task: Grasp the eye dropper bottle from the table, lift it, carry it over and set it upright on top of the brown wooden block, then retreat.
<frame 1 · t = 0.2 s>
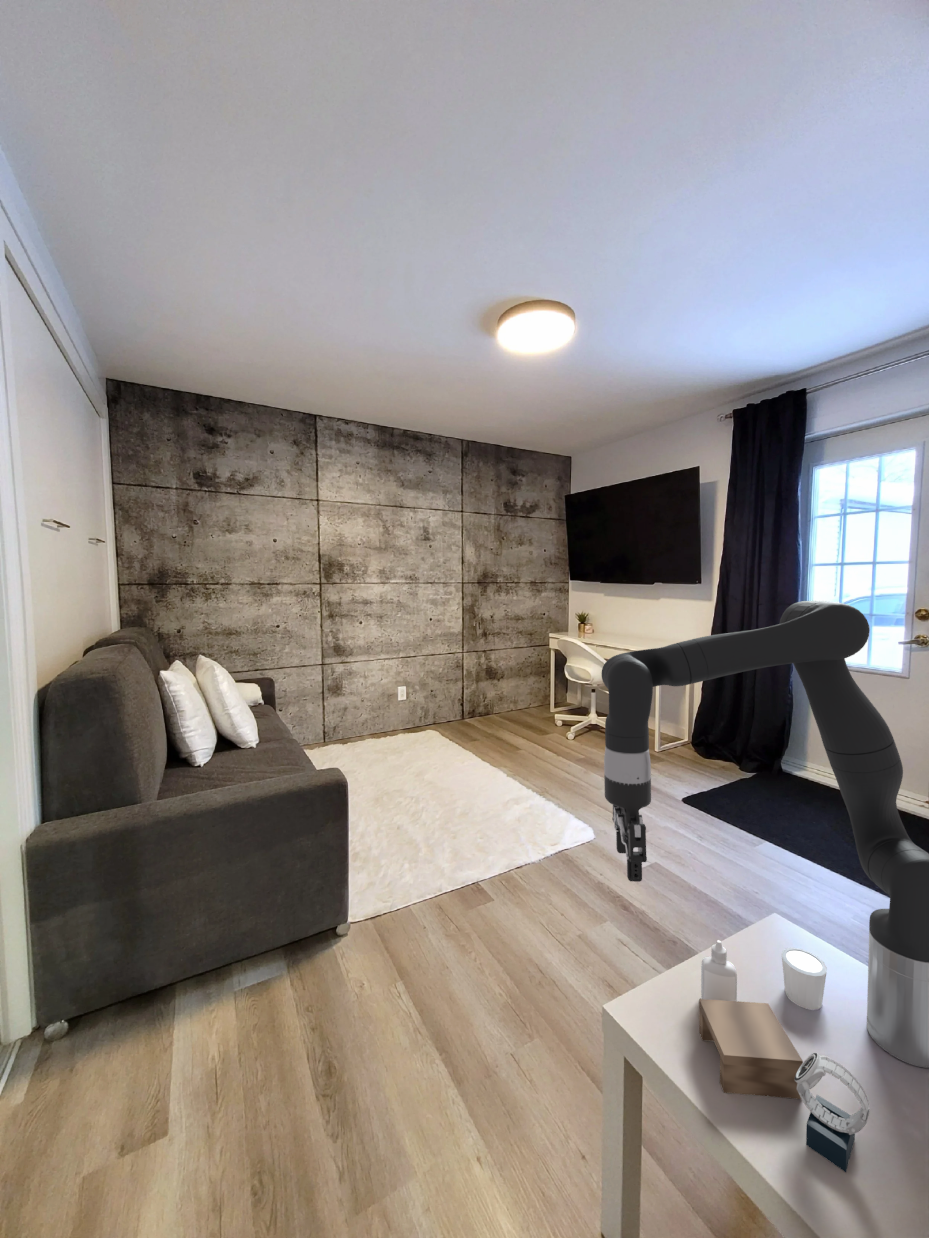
hand: (628, 865, 84), 28 cm above the table, tool pointing down, fingers open, 8 cm apart
white oval container: (803, 997, 90), on the table
brown wooden block: (746, 1063, 77), on the table
watch: (829, 1143, 66), on the table
eye dropper bottle: (718, 1005, 88), on the table
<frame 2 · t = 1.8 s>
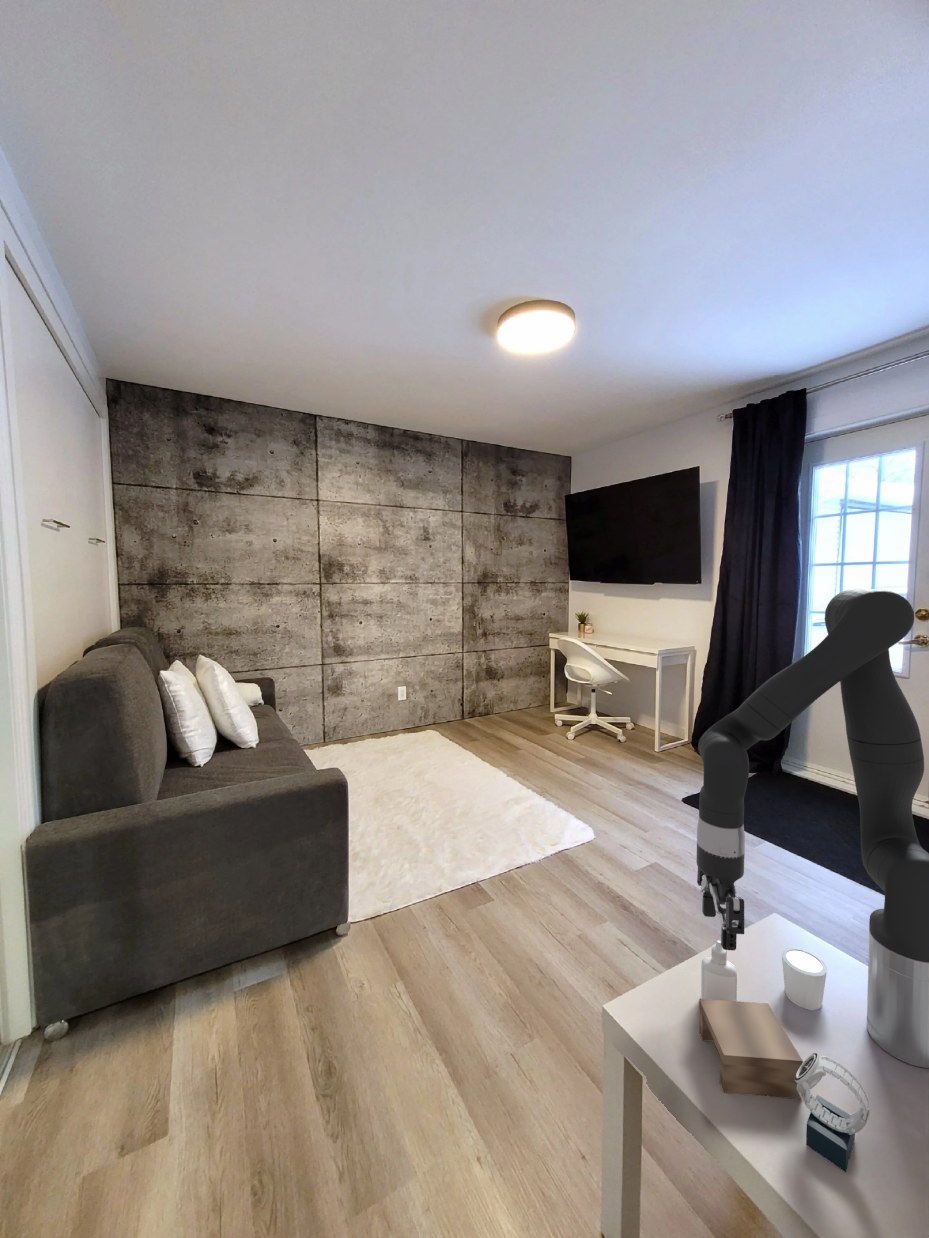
hand: (718, 931, 88), 14 cm above the table, tool pointing down, fingers open, 8 cm apart
nothing on the table moved.
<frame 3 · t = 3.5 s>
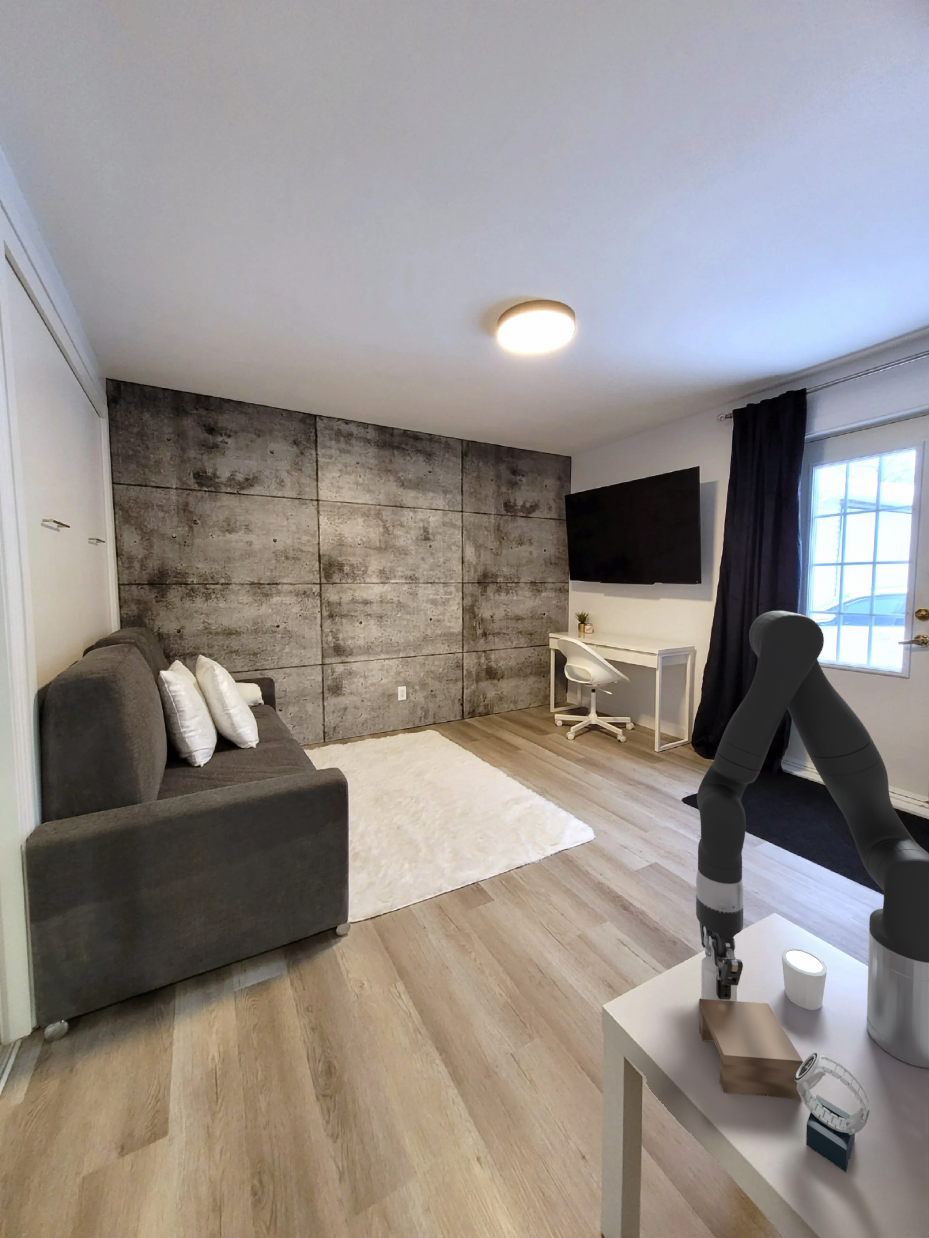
hand: (718, 987, 88), 3 cm above the table, tool pointing down, fingers closed on eye dropper bottle, 3 cm apart
eye dropper bottle: (718, 1005, 88), on the table, touching gripper
everything else where it was.
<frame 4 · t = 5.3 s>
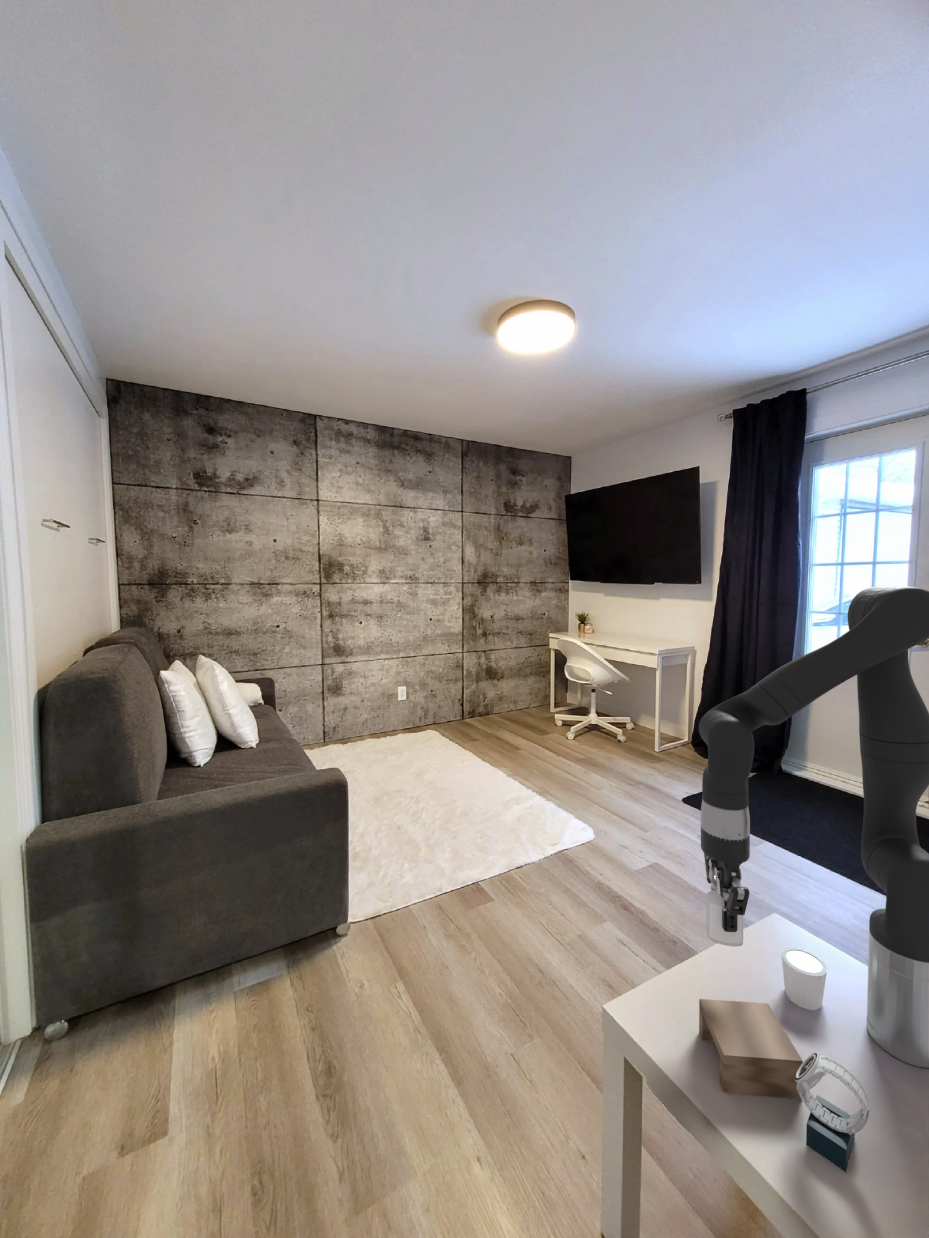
hand: (724, 921, 85), 17 cm above the table, tool pointing down, fingers closed on eye dropper bottle, 3 cm apart
eye dropper bottle: (724, 940, 86), point 14 cm above the table, touching gripper
everything else where it was.
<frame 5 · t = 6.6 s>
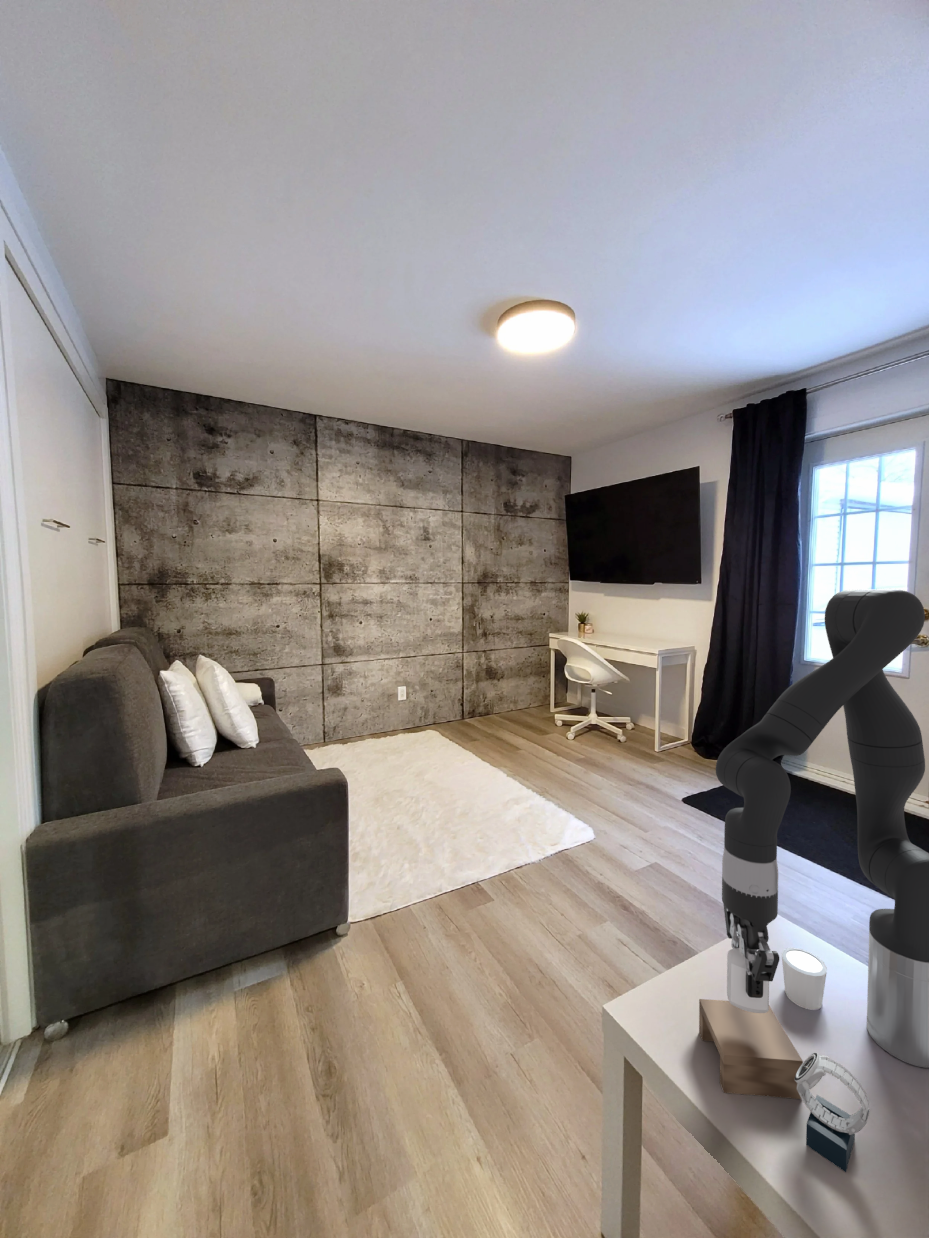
hand: (747, 983, 77), 13 cm above the table, tool pointing down, fingers closed on eye dropper bottle, 3 cm apart
eye dropper bottle: (747, 1004, 77), point 10 cm above the table, touching gripper
everything else where it was.
when the fingers open (11 cm above the table, at t = 7.3 s): eye dropper bottle drops 1 cm, resting on brown wooden block.
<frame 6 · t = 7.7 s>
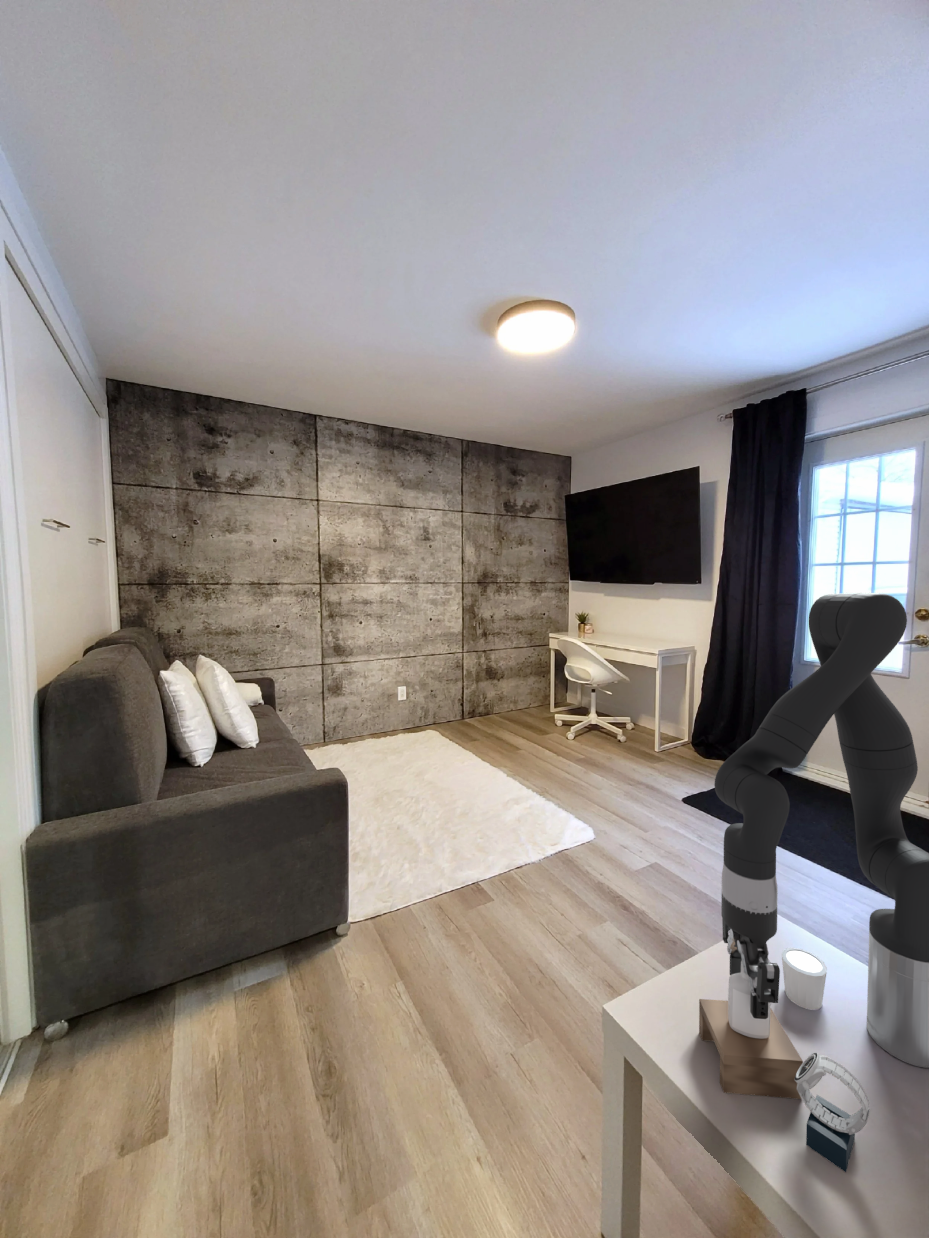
hand: (747, 996, 77), 11 cm above the table, tool pointing down, fingers open, 6 cm apart
eye dropper bottle: (748, 1029, 77), point 6 cm above the table, touching brown wooden block
everything else where it was.
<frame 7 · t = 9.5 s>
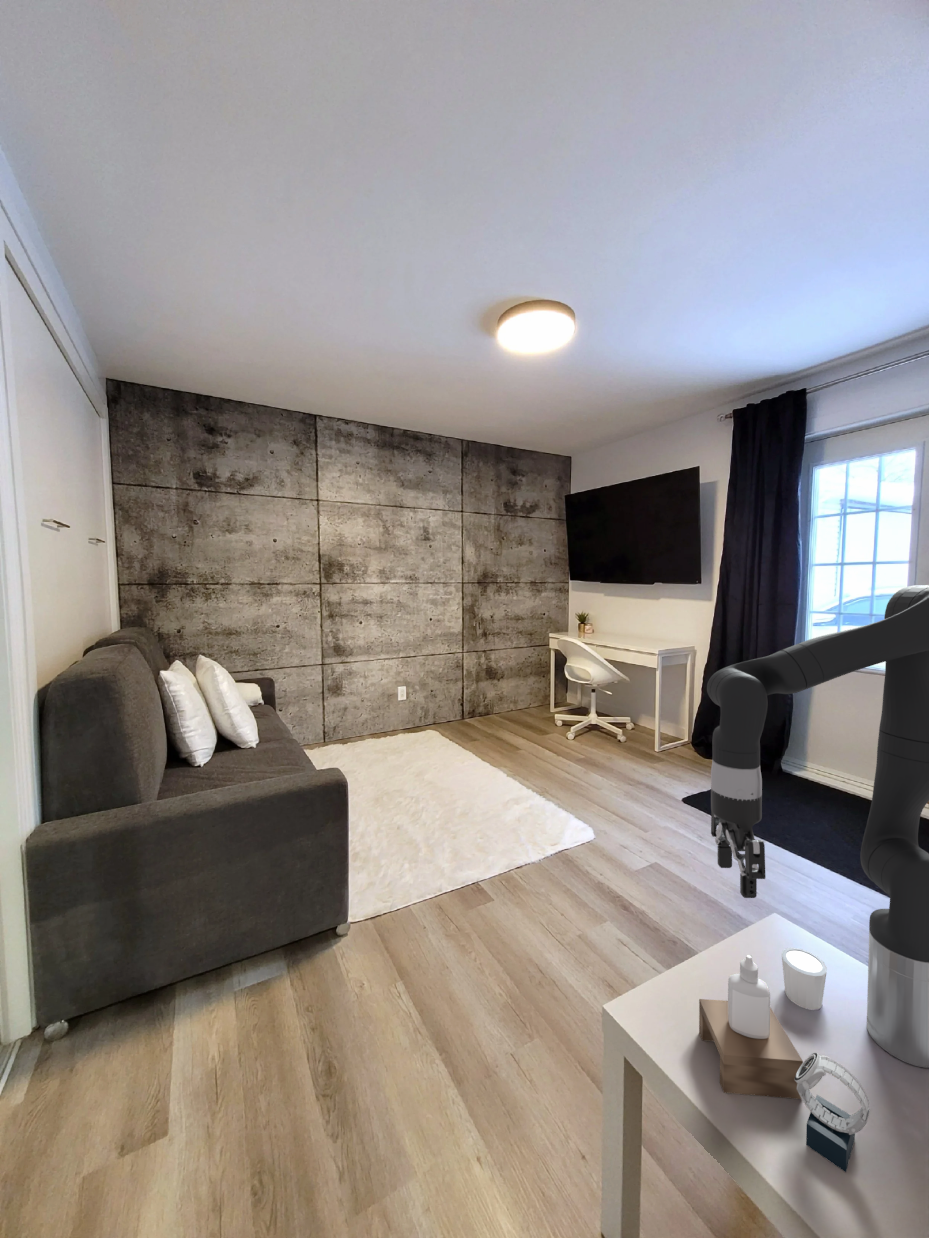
hand: (735, 880, 83), 26 cm above the table, tool pointing down, fingers open, 8 cm apart
nothing on the table moved.
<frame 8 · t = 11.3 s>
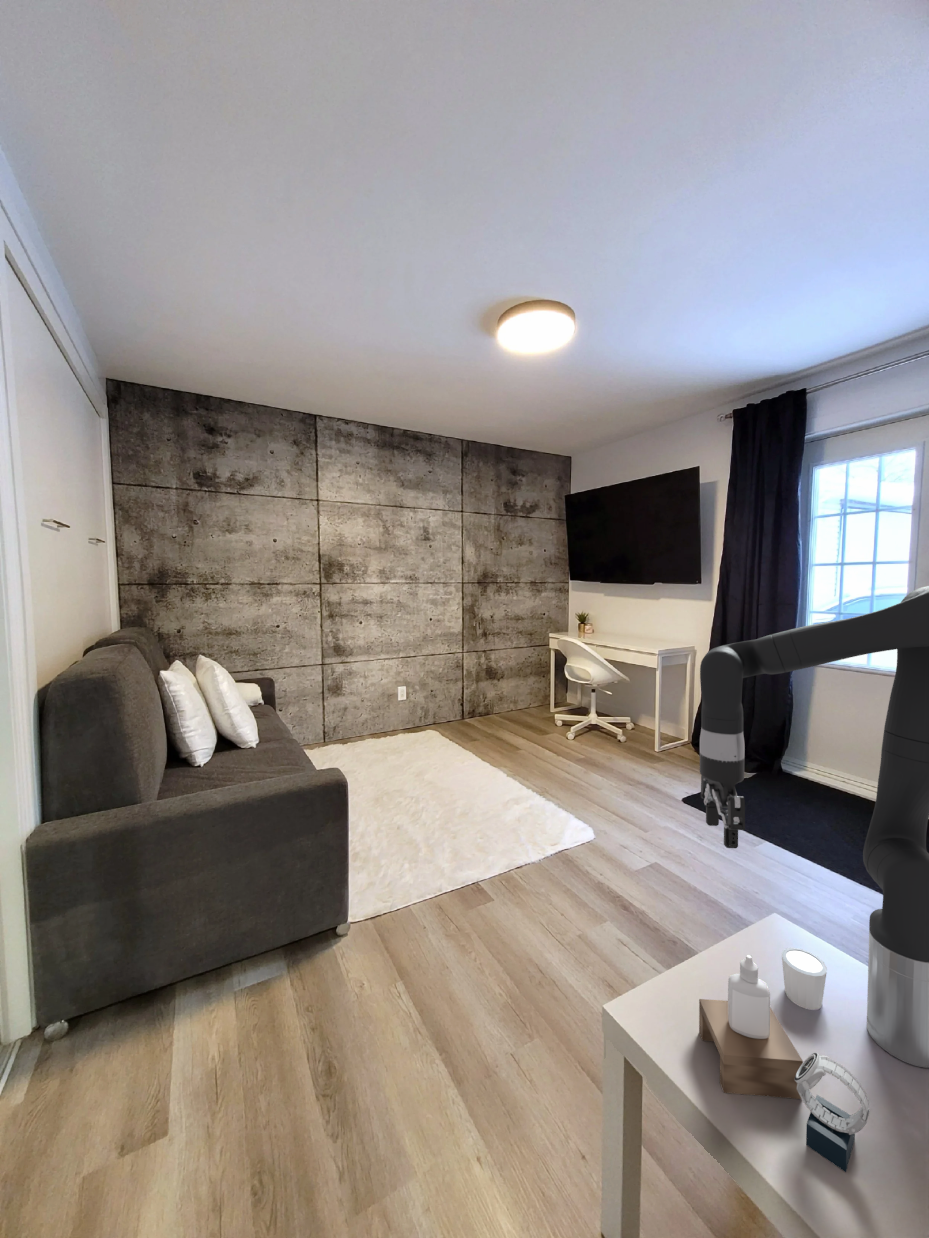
hand: (721, 835, 93), 28 cm above the table, tool pointing down, fingers open, 8 cm apart
nothing on the table moved.
at the end: eye dropper bottle inside the target area on the brown wooden block (0.2 cm from its centre), point 5.8 cm above the brown wooden block's base; eye dropper bottle tilted 0°; the gripper is holding nothing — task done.
